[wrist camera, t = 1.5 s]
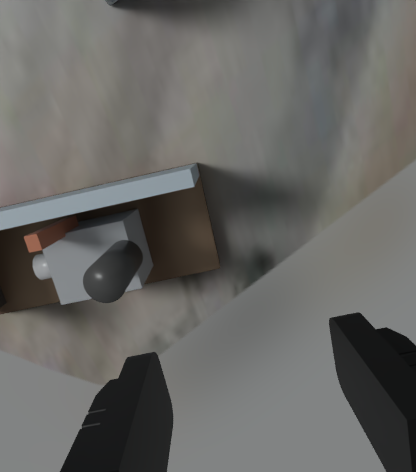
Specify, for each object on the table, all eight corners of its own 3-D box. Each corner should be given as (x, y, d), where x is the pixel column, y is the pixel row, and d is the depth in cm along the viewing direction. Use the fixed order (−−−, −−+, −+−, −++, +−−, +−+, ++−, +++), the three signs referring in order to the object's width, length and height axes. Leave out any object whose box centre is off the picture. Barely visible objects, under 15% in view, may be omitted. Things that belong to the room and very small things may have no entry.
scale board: (196, 163, 27) (190, 168, 19) (199, 176, 28) (194, 188, 19) (-51, 219, 29) (-166, 249, 20) (-46, 232, 29) (-157, 267, 20)
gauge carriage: (143, 197, 28) (108, 221, 18) (161, 263, 29) (137, 318, 20) (41, 219, 28) (-45, 255, 19) (63, 284, 30) (-7, 347, 20)
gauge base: (197, 162, 29) (196, 163, 27) (219, 262, 31) (220, 268, 29) (-38, 216, 30) (-51, 219, 29) (-1, 309, 32) (-11, 316, 31)
